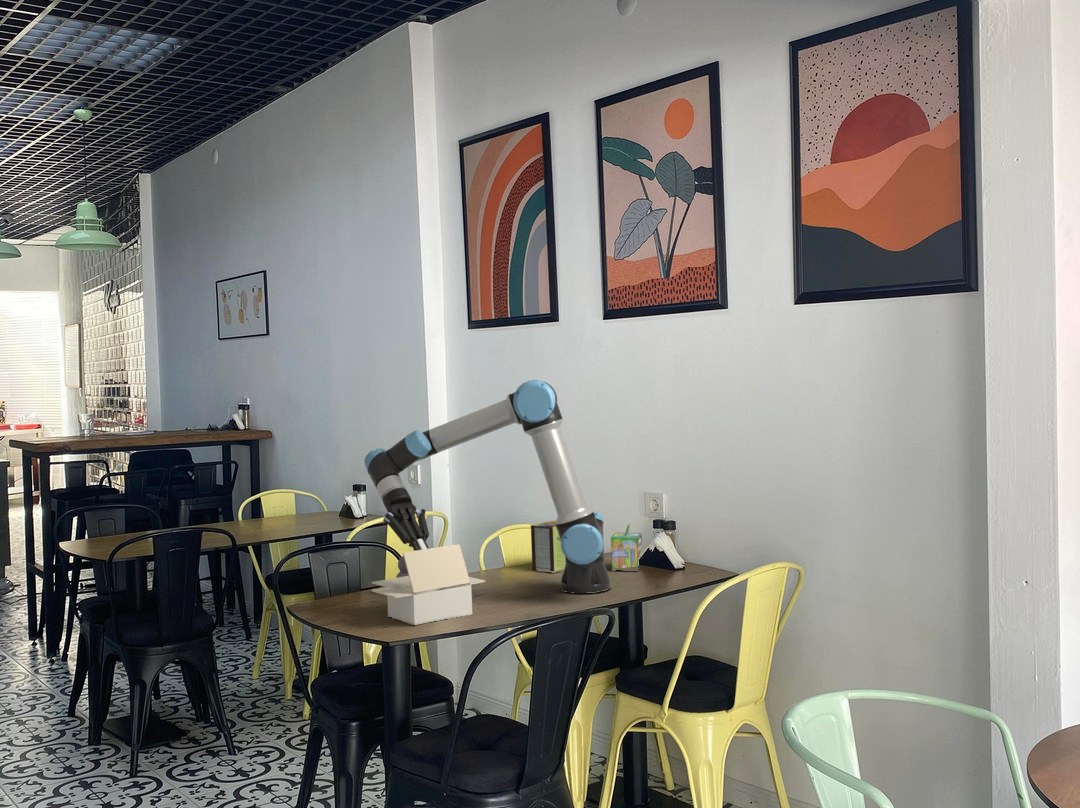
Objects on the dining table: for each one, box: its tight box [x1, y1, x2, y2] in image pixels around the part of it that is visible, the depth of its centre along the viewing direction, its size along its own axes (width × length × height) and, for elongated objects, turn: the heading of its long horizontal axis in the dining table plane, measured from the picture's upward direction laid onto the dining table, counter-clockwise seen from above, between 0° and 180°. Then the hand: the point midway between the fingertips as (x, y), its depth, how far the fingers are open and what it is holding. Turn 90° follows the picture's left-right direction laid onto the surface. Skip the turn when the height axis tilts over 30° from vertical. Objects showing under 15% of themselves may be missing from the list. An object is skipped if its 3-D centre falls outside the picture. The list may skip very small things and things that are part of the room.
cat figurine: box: [395, 556, 409, 578], centre depth 291 cm, size 9×8×12 cm
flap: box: [402, 543, 470, 593], centre depth 258 cm, size 11×18×1 cm
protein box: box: [530, 519, 565, 571], centre depth 324 cm, size 10×15×16 cm
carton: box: [371, 576, 486, 625], centre depth 265 cm, size 23×28×8 cm
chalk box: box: [610, 523, 643, 569], centre depth 318 cm, size 9×9×15 cm
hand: (427, 560), depth 261 cm, fingers closed
